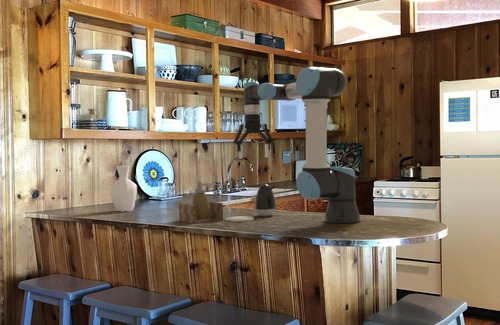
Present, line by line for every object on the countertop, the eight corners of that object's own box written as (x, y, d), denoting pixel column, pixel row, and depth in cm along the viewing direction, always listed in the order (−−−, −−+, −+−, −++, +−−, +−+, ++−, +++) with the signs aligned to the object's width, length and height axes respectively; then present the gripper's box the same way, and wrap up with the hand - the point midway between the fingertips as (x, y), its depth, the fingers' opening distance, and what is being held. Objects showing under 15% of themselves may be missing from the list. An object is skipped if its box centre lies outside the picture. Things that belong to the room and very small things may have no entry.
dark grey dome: (275, 217, 259) (274, 184, 259) (253, 217, 261) (252, 184, 261) (278, 214, 269) (277, 183, 269) (257, 214, 271) (256, 183, 271)
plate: (259, 219, 251) (259, 218, 251) (234, 222, 244) (234, 220, 244) (244, 217, 262) (244, 215, 262) (220, 219, 255) (220, 218, 255)
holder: (223, 220, 252) (222, 202, 252) (193, 223, 245) (193, 205, 245) (208, 217, 265) (207, 200, 265) (179, 220, 258) (179, 203, 257)
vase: (143, 210, 308) (141, 165, 308) (124, 213, 296) (123, 166, 296) (124, 209, 316) (123, 165, 315) (105, 212, 304) (104, 166, 303)
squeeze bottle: (196, 222, 250) (194, 182, 249) (189, 220, 257) (188, 181, 256) (212, 220, 253) (211, 181, 253) (205, 218, 260) (204, 180, 260)
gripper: (272, 114, 278) (274, 156, 278) (225, 114, 268) (227, 158, 269) (279, 113, 271) (280, 156, 271) (231, 113, 261) (232, 158, 262)
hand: (254, 157), depth 270 cm, fingers open, 13 cm apart
